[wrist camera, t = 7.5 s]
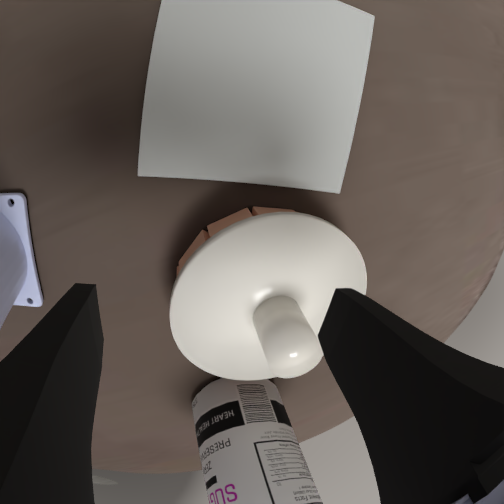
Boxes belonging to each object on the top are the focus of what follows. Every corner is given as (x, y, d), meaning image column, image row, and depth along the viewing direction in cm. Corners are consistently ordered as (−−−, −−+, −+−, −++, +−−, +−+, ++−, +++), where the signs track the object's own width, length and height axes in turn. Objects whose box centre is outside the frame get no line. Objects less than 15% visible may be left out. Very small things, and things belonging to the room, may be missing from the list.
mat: (138, 174, 16) (137, 176, 15) (170, -32, 10) (170, -35, 10) (336, 191, 19) (339, 193, 19) (371, 17, 14) (374, 16, 13)
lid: (170, 375, 19) (175, 429, 16) (174, 203, 14) (175, 248, 10) (328, 363, 23) (351, 406, 19) (384, 221, 17) (431, 257, 14)
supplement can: (276, 407, 30) (324, 531, 17) (200, 423, 28) (229, 554, 16) (275, 361, 26) (342, 518, 13) (181, 380, 24) (211, 551, 11)
